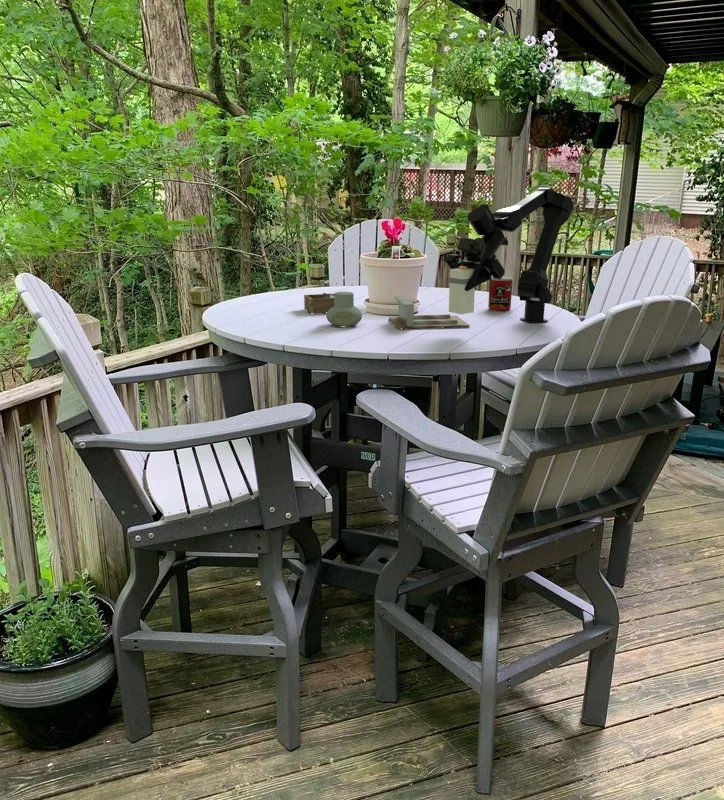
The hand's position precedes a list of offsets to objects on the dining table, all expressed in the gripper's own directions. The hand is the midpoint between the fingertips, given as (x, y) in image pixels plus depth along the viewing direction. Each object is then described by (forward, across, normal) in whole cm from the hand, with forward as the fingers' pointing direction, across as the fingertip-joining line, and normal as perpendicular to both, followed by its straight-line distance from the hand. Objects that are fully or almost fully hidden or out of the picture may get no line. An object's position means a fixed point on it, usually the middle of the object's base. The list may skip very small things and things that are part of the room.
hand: (458, 289), depth 193 cm
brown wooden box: (+14, -56, +5) cm, 58 cm away
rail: (+10, -22, +8) cm, 25 cm away
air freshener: (+21, -32, -2) cm, 38 cm away
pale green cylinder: (+4, 0, +6) cm, 7 cm away
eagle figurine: (+14, -56, +5) cm, 58 cm away
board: (+5, -18, +13) cm, 23 cm away
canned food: (-21, -22, +40) cm, 50 cm away
